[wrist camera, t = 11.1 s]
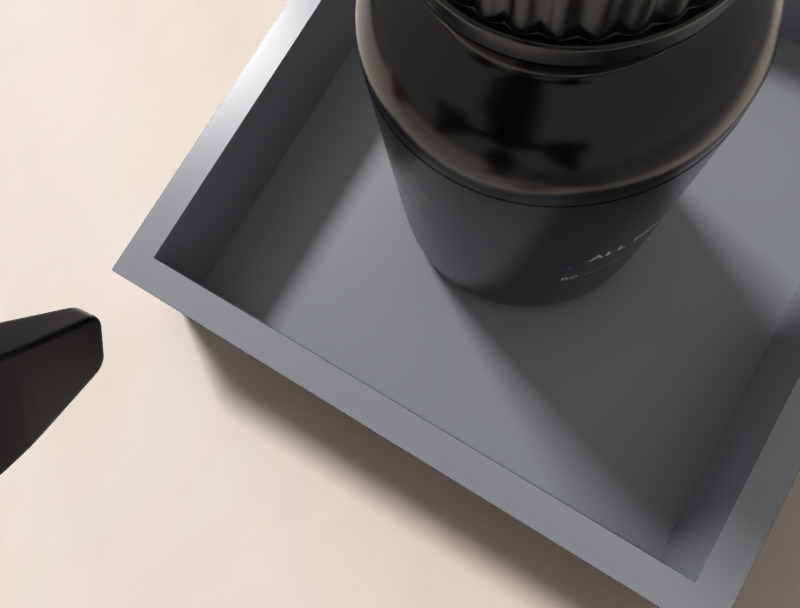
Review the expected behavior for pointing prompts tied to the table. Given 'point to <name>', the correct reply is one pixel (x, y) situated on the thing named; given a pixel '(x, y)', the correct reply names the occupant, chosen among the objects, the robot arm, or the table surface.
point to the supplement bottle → (554, 125)
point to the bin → (509, 319)
